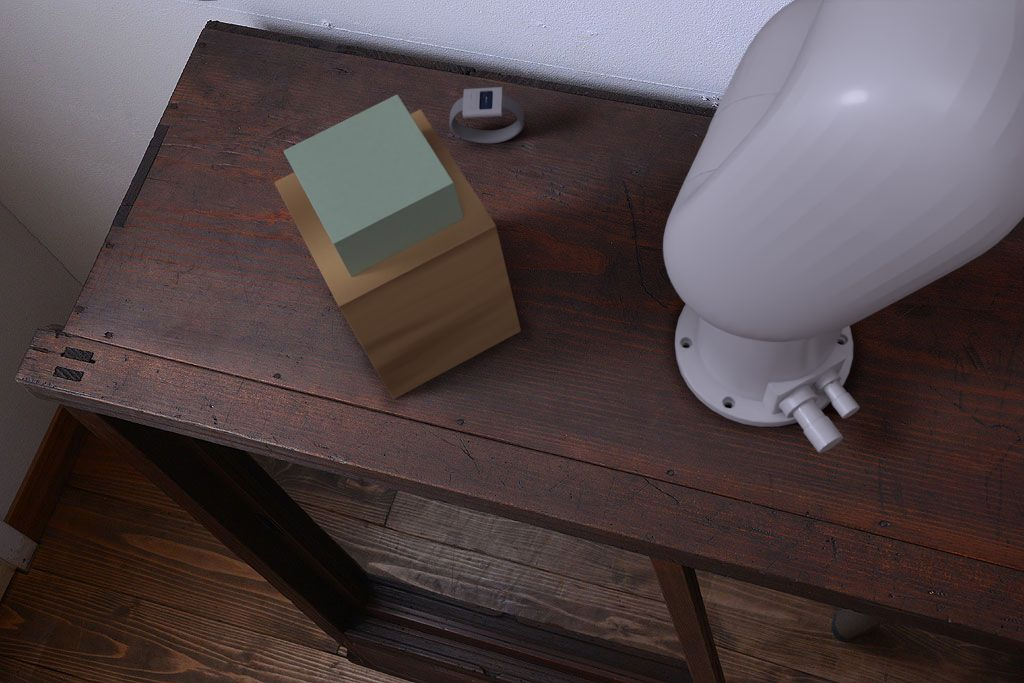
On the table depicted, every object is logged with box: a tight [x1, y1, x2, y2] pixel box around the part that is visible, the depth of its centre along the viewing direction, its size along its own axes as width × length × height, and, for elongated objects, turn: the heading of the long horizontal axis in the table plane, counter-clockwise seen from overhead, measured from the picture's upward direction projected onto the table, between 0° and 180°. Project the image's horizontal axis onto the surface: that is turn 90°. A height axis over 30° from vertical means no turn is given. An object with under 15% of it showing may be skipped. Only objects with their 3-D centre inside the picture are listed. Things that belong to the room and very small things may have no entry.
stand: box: [274, 108, 522, 400], centre depth 69 cm, size 11×11×15 cm
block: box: [283, 94, 464, 277], centre depth 61 cm, size 8×8×4 cm
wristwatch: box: [448, 86, 525, 145], centre depth 80 cm, size 6×3×5 cm, turn 89°
